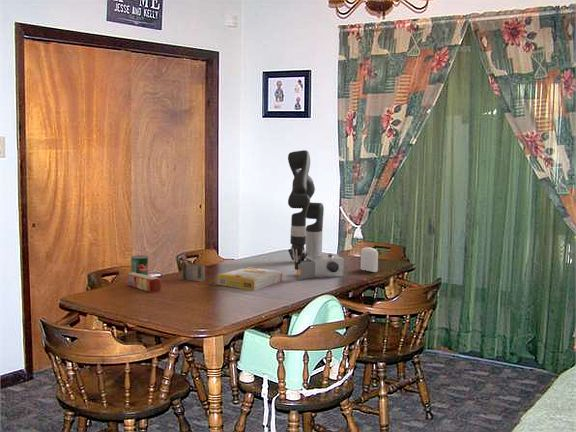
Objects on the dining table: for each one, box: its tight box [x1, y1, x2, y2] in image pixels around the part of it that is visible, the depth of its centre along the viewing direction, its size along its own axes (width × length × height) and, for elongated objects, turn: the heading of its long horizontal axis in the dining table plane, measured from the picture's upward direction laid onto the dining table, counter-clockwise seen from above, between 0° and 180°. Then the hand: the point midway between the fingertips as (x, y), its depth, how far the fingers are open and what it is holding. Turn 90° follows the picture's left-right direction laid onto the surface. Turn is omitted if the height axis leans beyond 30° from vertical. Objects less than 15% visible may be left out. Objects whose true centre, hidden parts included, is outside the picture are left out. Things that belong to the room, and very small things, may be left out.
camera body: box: [305, 253, 345, 278], centre depth 363 cm, size 14×16×10 cm
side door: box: [296, 261, 316, 281], centre depth 351 cm, size 12×2×8 cm, turn 136°
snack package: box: [125, 272, 162, 294], centre depth 322 cm, size 21×7×7 cm, turn 42°
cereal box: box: [216, 266, 284, 291], centre depth 339 cm, size 20×6×28 cm
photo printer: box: [360, 246, 379, 273], centre depth 377 cm, size 10×4×12 cm, turn 39°
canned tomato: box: [130, 254, 149, 276], centre depth 343 cm, size 8×8×11 cm
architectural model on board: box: [181, 259, 206, 282], centre depth 344 cm, size 11×3×10 cm, turn 63°
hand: (297, 269), depth 351 cm, fingers closed
